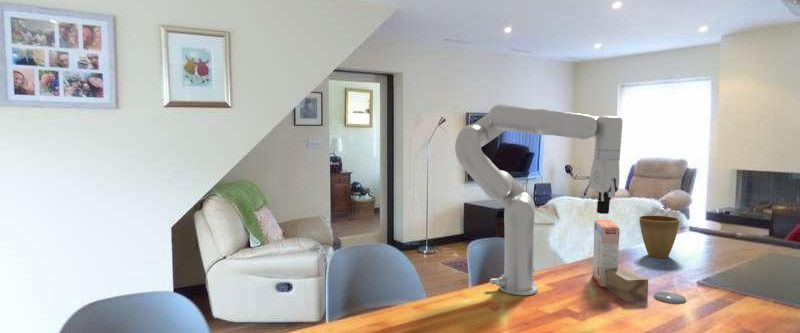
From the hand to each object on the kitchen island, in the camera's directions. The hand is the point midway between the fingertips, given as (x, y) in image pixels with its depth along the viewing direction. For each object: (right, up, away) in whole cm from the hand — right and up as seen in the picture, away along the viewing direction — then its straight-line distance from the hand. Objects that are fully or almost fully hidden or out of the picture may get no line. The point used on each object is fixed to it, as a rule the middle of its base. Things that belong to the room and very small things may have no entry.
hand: (602, 213), depth 162 cm
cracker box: (+8, -26, +17) cm, 32 cm away
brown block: (+9, -27, +4) cm, 29 cm away
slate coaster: (+21, -27, 0) cm, 34 cm away
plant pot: (+43, -23, +51) cm, 70 cm away
